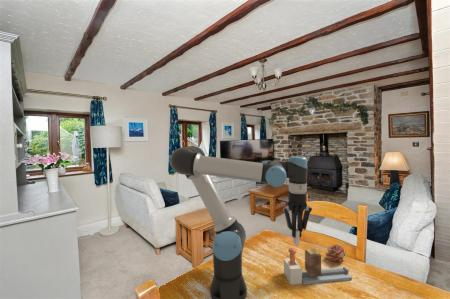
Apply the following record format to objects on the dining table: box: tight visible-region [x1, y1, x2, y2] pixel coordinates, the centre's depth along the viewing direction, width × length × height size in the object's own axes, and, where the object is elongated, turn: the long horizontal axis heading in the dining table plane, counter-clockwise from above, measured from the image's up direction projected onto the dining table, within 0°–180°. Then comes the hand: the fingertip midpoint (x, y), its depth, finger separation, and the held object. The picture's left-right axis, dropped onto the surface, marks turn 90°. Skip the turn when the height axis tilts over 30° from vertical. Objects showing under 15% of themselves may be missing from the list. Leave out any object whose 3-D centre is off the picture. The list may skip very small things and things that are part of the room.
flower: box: [325, 243, 347, 262], centre depth 108 cm, size 10×9×8 cm
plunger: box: [288, 247, 297, 264], centre depth 95 cm, size 3×3×6 cm
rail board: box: [302, 266, 353, 285], centre depth 96 cm, size 22×7×3 cm, turn 95°
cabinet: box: [283, 257, 303, 286], centre depth 96 cm, size 5×8×7 cm, turn 5°
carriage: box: [304, 248, 322, 276], centre depth 95 cm, size 5×5×10 cm
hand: (296, 244), depth 95 cm, fingers closed
